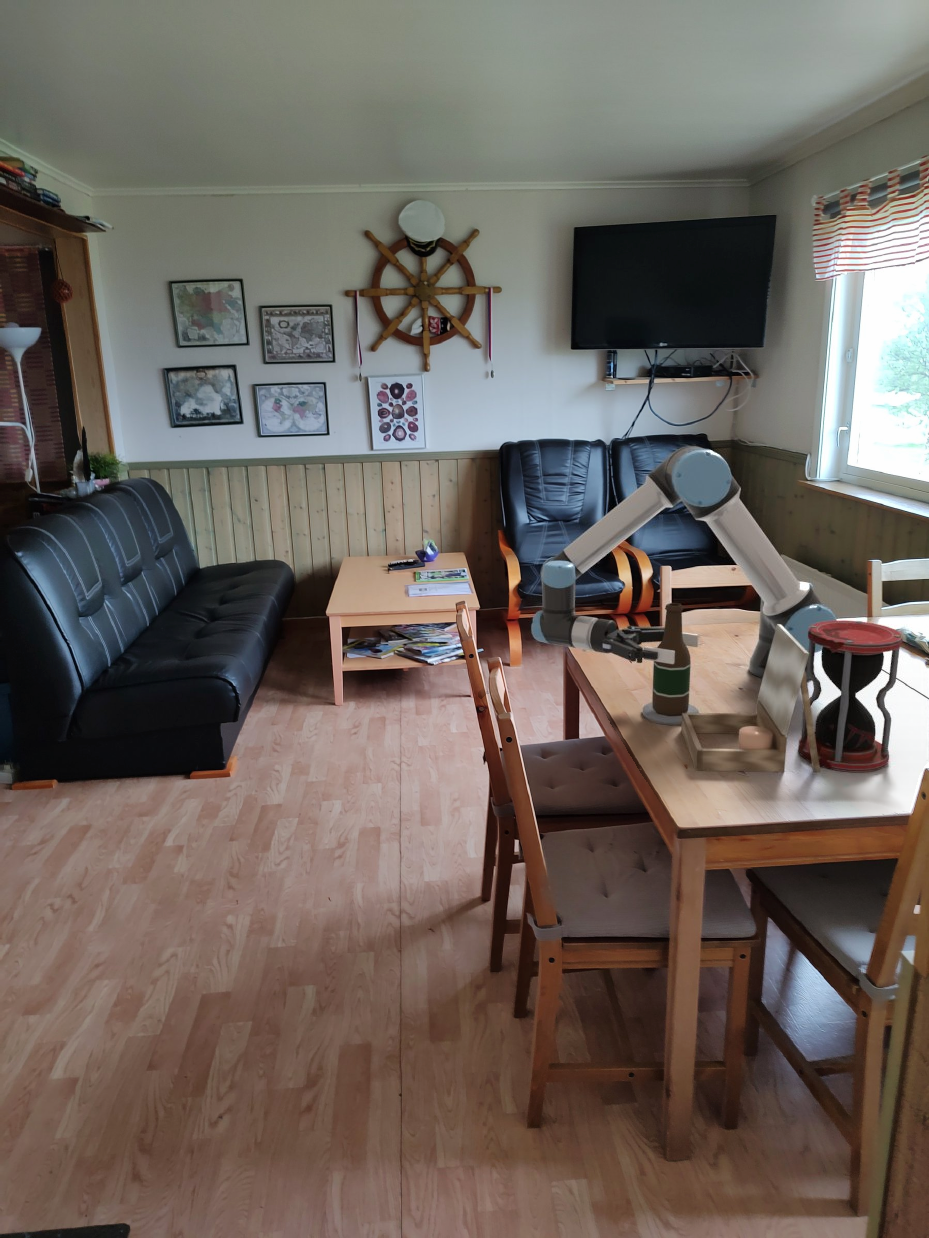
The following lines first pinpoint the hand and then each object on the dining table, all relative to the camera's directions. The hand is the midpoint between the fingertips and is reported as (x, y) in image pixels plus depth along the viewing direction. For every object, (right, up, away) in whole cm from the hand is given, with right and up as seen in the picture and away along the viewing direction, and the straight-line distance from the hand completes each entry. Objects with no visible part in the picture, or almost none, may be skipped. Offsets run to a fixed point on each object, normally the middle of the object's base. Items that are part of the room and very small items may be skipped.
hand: (686, 649), depth 182 cm
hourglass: (+26, -20, -16) cm, 37 cm away
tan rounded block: (+8, -21, -18) cm, 29 cm away
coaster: (-2, -15, +6) cm, 16 cm away
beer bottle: (-2, -14, +6) cm, 15 cm away
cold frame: (+9, -20, -13) cm, 25 cm away
